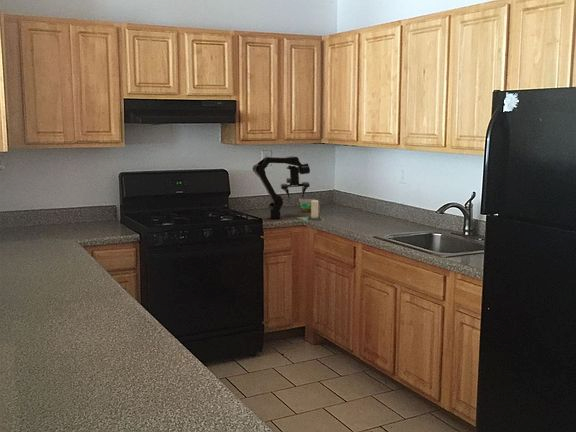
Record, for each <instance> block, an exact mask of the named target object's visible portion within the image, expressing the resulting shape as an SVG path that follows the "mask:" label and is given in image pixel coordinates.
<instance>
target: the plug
mask: <svg viewBox="0 0 576 432" xmlns="http://www.w3.org/2000/svg"><path fill="white" fill-rule="evenodd" d="M310 214H311V215H310V216H311V218H318V216H319V214H320V204H319V200H317V199H316V200H312V201H311V213H310Z"/></svg>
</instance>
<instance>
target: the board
mask: <svg viewBox="0 0 576 432" xmlns="http://www.w3.org/2000/svg"><path fill="white" fill-rule="evenodd" d="M322 217H323V216H321V215H318V218H311V215H307V216H296V218H297V219H299V220H302V221H304V222H305V221H306V222H307V221H308V222H309V221H311V222H312V221H323V220H325V219H324V218H322Z"/></svg>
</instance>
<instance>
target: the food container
mask: <svg viewBox="0 0 576 432" xmlns="http://www.w3.org/2000/svg"><path fill="white" fill-rule="evenodd" d="M312 200H317V199H316V198H299V200H298V202H299V204H300V213H304V214H305V213H310V214H311V201H312Z"/></svg>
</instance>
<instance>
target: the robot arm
mask: <svg viewBox="0 0 576 432" xmlns="http://www.w3.org/2000/svg"><path fill="white" fill-rule="evenodd" d="M269 164H285V165H286V164H287V165H288V166H287V167H286V169H287V170H289V176H290V177H286V183H281V184H280V189H281V190H283V191H285V193H286V196H287V199H290V191H289V189H288V188H298V187H301V199H304V197H305V192H306V190H308V188H310V182H308V181H303V182H301V183H300V175H307V174H310V172H311V168H310V165H309V163H303V164H302V163H301V161H300V159H299V158H298V156H294V155H292V156H291V155H290V156H285V157H275V156H274V157H271V156H270V157H269V156H264V158H263V159H262V160H260V161H259V162H257V163H256V164H254V165H253V166H252V171H253V173H254V174H255V175H256V176H257V177H258V178H259V180H260V181H261V183H262V185H263V186H264V188H265V190H266V192H267V194H268V195H269V198H270V199H269V200H270V203H269V205H268V210H269V212H268V215H269V217H267V218H268V219H270V220H281V208H282V206H283V205H284V202H283V201H284V199H283V198H282V196H281V195H280V194H277V193H276V191H275V189H274V188H273V186H272V184H271V183H270V180H269V179H268V177H267V175H266V170H265V169H266V168H268V166H269ZM299 174H300V175H299Z"/></svg>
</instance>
